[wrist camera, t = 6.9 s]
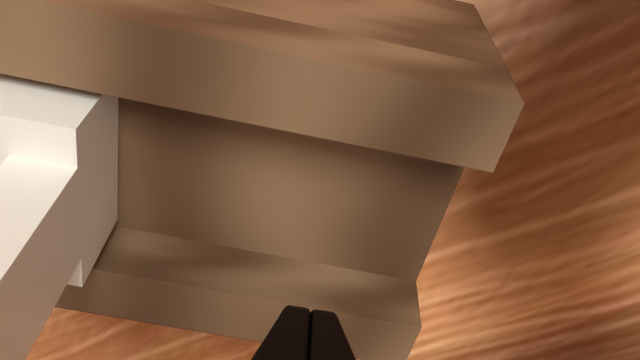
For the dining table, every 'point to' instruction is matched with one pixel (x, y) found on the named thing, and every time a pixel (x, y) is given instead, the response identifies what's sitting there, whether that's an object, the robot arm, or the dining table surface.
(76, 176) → the white offset block
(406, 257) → the launcher deck
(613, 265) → the dining table surface
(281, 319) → the robot arm
